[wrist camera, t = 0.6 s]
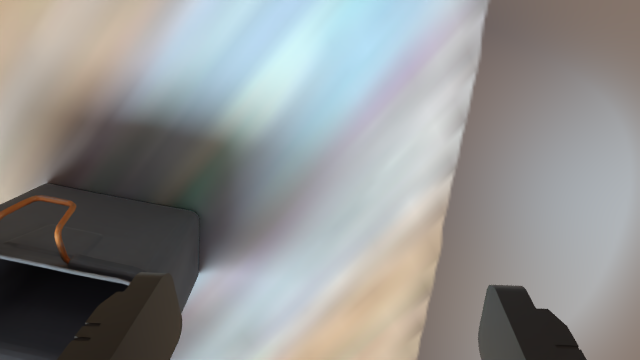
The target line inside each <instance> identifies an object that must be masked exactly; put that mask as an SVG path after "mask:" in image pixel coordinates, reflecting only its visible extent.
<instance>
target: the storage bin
mask: <svg viewBox="0 0 640 360" xmlns="http://www.w3.org/2000/svg"><path fill="white" fill-rule="evenodd" d="M199 229H200V219H199V216H198V215H197V214H196V213H195V212H193V211H190V210H186V209H180V208H174V207H168V206H163V205H157V204H152V203H146V202H141V201H136V200H130V199H125V198H120V197H115V196H110V195H104V194H99V193H94V192H89V191H84V190H79V189H74V188H69V187H64V186H59V185H54V184H44V185H41V186H39V187H37V188H35V189H33V190H31V191H29V192H27V193H24V194H22V195H20V196H18V197H16V198H14V199H12V200H9V201H7V202H5V203H3V204H1V205H0V360H57V359H58V357H59V356H60V355H61V353H62V352H63V351H64V350H65V348H66V347H67V346H68V344H69V343H70V342H71V341H73V340H74V337H75V335H76V334H77V333H78V331H79V330H80V329H81V327H82V326H85V322H86V321H87V320H88V318H89V317H90V316H91V314H92V313H93V312H94V310H95V309H96V308H97V307H98V306H99V305H100V304H101V303H103V302H104V301H105V300H107V299H108V298H109V297H111V296H112V295H113V294H115V293H116V292H124V291H125V290H126V288H127V287H128V286H129V284H130V283H131V281H132V280H133V279H134V277H135V276H136V275H137V274H138V273H140V272H149V273H169V274H171V276H172V278H173V281H174V285H175V290H176V294H177V298H178V303H179V307H180V312H181V313H182V311H183V308H184V306H185V304H186V302H187V300H188V297H189V295H190V293H191V291H192V288H193V286H194V284H195V282H196V279H197V277H198V269H199Z"/></svg>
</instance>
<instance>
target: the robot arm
mask: <svg viewBox="0 0 640 360" xmlns="http://www.w3.org/2000/svg"><path fill="white" fill-rule="evenodd" d="M181 329H182V316H181V312H180V307H179V303H178V298H177V294H176V290H175V285H174V281H173V278H172V276H171V274H169V273H149V272H140V273H138V274H137V275H136V276H135V277H134V279H133V280H132V281H131V283H130V284H129V286H128V287H127V288H126V290H125V291H124V292H116V293H115V294H113V295H112V296H111V297H109V298H108V299H107V300H105V301H104V302H103V303H101V304H100V305H99V306H98V307H97V308H96V309H95V310H94V312H93V313H92V314H91V316H90V317H89V318H88V320H87V321H86V322H85V326H82V327H81V329H80V330H79V331H78V333H77V334H76V335H75V337H74V340H73V341H71V342H70V343H69V344H68V346H67V347H66V348H65V350H64V351H63V352H62V353H61V355H60V356H59V357H58V359H57V360H170V358H171V356H172V354H173V352H174V350H175V347H176V345H177V343H178V341H179V338H180V335H181ZM478 342H479V351H480V356H481V359H482V360H586V358H585V356H584V354H583V353H582V351H581V350H579V348H578V345H577V343H576V341H575V339H574V337H573V336H572V334H571V332H570V331H569V329H568V327H567V326H566V325H565V324H564V323H563V322H562V321H561V320H559V319H558V318H557V317H556V316H555V315H554V314H553V313H552V312H551V311H549V310H548V309H536V308H535V306H534V304H533V302H532V300H531V298H530V296H529V295H528V293H527V291H526V289H525V288H524V287H522V286H508V285H506V286H505V285H489V286H488V289H487V292H486V296H485V302H484V307H483V312H482V317H481V321H480V326H479V333H478Z"/></svg>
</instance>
